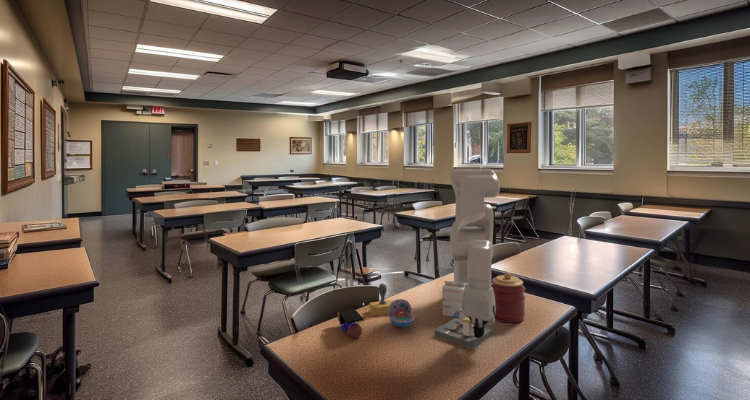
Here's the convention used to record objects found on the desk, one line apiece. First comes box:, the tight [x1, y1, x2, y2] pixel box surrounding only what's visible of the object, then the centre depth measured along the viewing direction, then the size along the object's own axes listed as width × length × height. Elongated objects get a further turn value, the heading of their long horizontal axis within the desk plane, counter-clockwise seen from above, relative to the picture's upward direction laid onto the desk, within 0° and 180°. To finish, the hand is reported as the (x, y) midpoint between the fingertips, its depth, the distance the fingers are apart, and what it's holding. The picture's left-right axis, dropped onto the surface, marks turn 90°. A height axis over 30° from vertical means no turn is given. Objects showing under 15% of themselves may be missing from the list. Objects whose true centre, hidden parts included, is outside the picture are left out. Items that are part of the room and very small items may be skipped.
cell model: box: [387, 298, 416, 328], centre depth 144 cm, size 10×12×10 cm
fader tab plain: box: [459, 308, 466, 324], centre depth 139 cm, size 3×3×5 cm
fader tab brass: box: [462, 317, 472, 336], centre depth 130 cm, size 3×3×5 cm
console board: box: [434, 317, 494, 350], centre depth 135 cm, size 15×14×2 cm
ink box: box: [441, 280, 467, 319], centre depth 154 cm, size 9×8×13 cm
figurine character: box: [336, 308, 365, 339], centre depth 140 cm, size 7×8×15 cm
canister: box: [491, 271, 526, 324], centre depth 150 cm, size 13×13×18 cm
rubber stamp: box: [369, 283, 394, 317], centre depth 157 cm, size 10×6×12 cm, turn 104°
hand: (478, 336), depth 127 cm, fingers closed
